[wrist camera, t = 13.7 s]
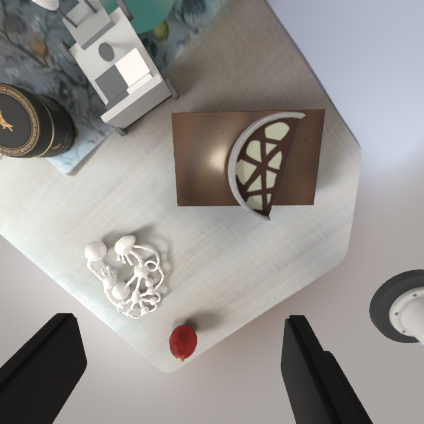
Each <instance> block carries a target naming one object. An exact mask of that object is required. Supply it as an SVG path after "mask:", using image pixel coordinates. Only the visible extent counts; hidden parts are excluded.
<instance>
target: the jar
mask: <svg viewBox="0 0 424 424" xmlns="http://www.w3.org/2000/svg"><path fill="white" fill-rule="evenodd" d="M72 140H73V126H72V122H71V120H70V118H69V116H68V115H67V113H66V112H65V111H64V109H63V108H61V107H60V106H59V105H58V104H56V103H55V102H54V101H52V100H50V99H49V98H47V97H44V96H42V95H39V94H36V93H33V92H30V91H28V90H26V89H24V88H21V87H17V86H13V85H10V84H5V83H0V153H2V154H4V155H7V156H10V157H17V158H36V157H53V156H57V155H59V154H62V153H63V152H65V151H66V150H67V149H68V148H69V147H70V145H71V143H72Z"/></svg>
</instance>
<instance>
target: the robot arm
mask: <svg viewBox="0 0 424 424" xmlns="http://www.w3.org/2000/svg"><path fill="white" fill-rule="evenodd" d="M389 319H390V322H391V324H392V325H393V327H394V328H395V329H396V330H398V331H399V332H400V333H402V334H404V335H407V336H414V337H415V338H417V339H418V340H419V341H420V342H421V343H422V344H423V345H424V286H423V287H417V288H414V289H411V290H409V291H406V292H405V293H403V294H402V295H400V296H399V297H398V298H397V299H396V300H395V301H394V303H393V304H392V306H391V308H390V311H389ZM86 366H87V359H86V355H85V351H84V347H83V343H82V338H81V334H80V330H79V326H78V322H77V318H76V317H74V315H73V314H72V313H58V314H56V315H54V316H53V317H52V318H51V319H50V320H49V321H48V322H47V323H46V324H45V325H44V326H43V327H42V328H41V329H40V330H39V331H38V332H37V333H36V334H35V335H34V336H33V337H32V338H31V339H30V340H29V341H28V342H27V343H25V344H24V345H23V346H22V347H21V348H20V349H19V350H18V351H17V352H16V353H15V354H14V355H13V356H12V357H11V358H10V359H9V360H8V361H7V362H6V363H5V364H4V365H3V366H2V367H1V368H0V424H52V423H53V422H54V420H55V418H56V417H57V415H58V413H59V412H60V410H61V409H62V407H63V405H64V404H65V402H66V401H67V399H68V397H69V396H70V394H71V392H72V391H73V389H74V388H75V386H76V384H77V383H78V381H79V380H80V378H81V376H82V375H83V373H84V371H85V369H86ZM281 372H282V376H283V380H284V383H285V386H286V390H287V393H288V396H289V400H290V403H291V407H292V410H293V414H294V417H295V421H296V424H373V423H372V421H371V419H370V418H369V416H368V414H367V412H366V411H365V409H364V407H363V406H362V404H361V402H360V400H359V399H358V397H357V395H356V394H355V392H354V390H353V388H352V387H351V385H350V383H349V381H348V380H347V378H346V376H345V375H344V373H343V371H342V369H341V368H340V366H339V364H338V363H337V361H336V359H335V357H334V356H333V355H332V353H330V352H329V351H324V350H323V349H322V347H321V345H320V343H319V341H318V339H317V337H316V336H315V334H314V332H313V330H312V328H311V326H310V325H309V323H308V321H307V319H306V318H305V316H304V315H290V316H289V319H286V320H285V327H284V337H283V347H282V358H281Z"/></svg>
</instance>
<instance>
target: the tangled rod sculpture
mask: <svg viewBox="0 0 424 424" xmlns="http://www.w3.org/2000/svg"><path fill="white" fill-rule="evenodd" d="M135 241H136V238H135V236H132V235H130V236H123V237H122V238H121V239H119V240H118V241H117V242H116V244H115V251H116V252H117V256H118V258H117V259H118V260H121V257H120V255H121V256H122V260H123V262H122V263H123V264H126V263H127V262H126V261H125V259H124V255H125V256H126V259H127V260H128V262H129V263H130V265H131V266H132V265H133V264H134V263H133V262H131V261H130V260H129V258H128V255H127V254H129V253H131V254H133V255H134V256H135V257H136V258H137V259H138V261H139V264H137V265H136V266H135V269H134V273H135V275H134V276H133V277H132V278H131V279H130V280H129V282H128V283H124V282H120V283H118V284H116V285H115V286H114V288H113V291H112V293H113V296H114V297H115V298H116V299H122V300H120V301H119V302H117V301H115V300H114V299H113V298H112V296H111V294H110V292H109V290H108V289H109V288H111V287H112V286H113V285H114V284H115V283H116V281H117V276H116V274H115V273H112V272H110V271H109V268H110V266H107V267H106V269H107V270H108V273H106V274H105V273H104V272H103V267H100V270H101V272H102V274H103V275H104V276H102V275H101V274H100V273H99V272H98V271H97V270H96V269H95V268H94V267H93V266H92V261H98V260H101V259H102V258H103V257H104V256H105V255H106V253H107V247H106V245H105V244H104V243H102V242H100V241H94V242H91V243H89V244H88V245H87V246H86V248H85V256H86V257H87V258H88V259H89V260H88V263H87V264H88V267H89V269H90V270H91V271H93V274H96V275H97V276H98V278H99V279H101V280H102V281H103V284H104V290H105V293H106V294H107V297H108V299H109V300H110V301H111V302H112V303H113V304H114V305H116V306H118V308H117V310H118V311H119V312H120V313H122V314H126V316H128V317H130V316H131V317H132V318H134V319H138V318H140V317H142V316H143V315H146V314H147V313H148V312H153V311H155V310H156V308H157V302H159V301H160V300H161V296H160V295H159V294H158V293H157V292H155V290H156V289H157V288H158V287H159V286H160V285H161V283H162V282H163V280H164V273H163V271H162V270H161V268H160V266H159V263H160V258H159V255H158V253H157V252H156V251H155V250H153V249H151V248H148V247H145V246H140V245H134V243H135ZM132 247H135V248H143V249H146V250H149V251H152V252H153V253H155V255H156V256H157V263H156V262H155V261H152V260H149V261H147V262H146V263H143V261H142V258H141V257H140V256H139V254H138V253H136V252H135V251H134V250H132ZM150 262H151V263H153V264H155V265H156V267H155V268H154V269H149V266H148V265H147V264H148V263H150ZM157 268H158V269H159V271H160V273H161V274H162V279H161V281H160V282H159V284H158V285H157V286H156V287H155V288H154V287H153V284H154V281H153V279H149V278H148V276H147V275H148V273H149V271H150V272H151V271H155V270H157ZM136 277H139V278H138V282H137V286H136V290H134V291H133V293H132V298H130V299H128V300H127V301H125V300H123V299H124V298H126V297H127V296H128V295H129V292H130V287H129V285H130V284H131V283H132V281H133V280H134V279H135V278H136ZM143 277H144V278H145V279H146V282H145V284H146V286H147V287H149V288H148V289H147V292H145V293H142V294H141V293H140V292H139V286H140V282H141V279H142V278H143ZM147 294H149V295H153V294H156V295H157V296H158V297H159V300H158V299H157V298H156V297H152V298H151V299H147V298H142V296H145V295H147ZM131 301H133V303H132V305H131V307H130V308H128V309H127V310H126V312H123V311H121V310H120V309H119V308H124V307H125V306H126V304H127V303H129V302H131ZM142 301H147V302H150V304H151V305H155V308H154V309H152V310H149V308H148V307H147V306H144V305H143V302H142ZM138 302H139V303H140V306H141V308H142V309H141V313H142V314H141V315H140V316H137V317H135V316H133V313H134V311H133V307H134V305H135V304H136V303H138Z"/></svg>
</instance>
